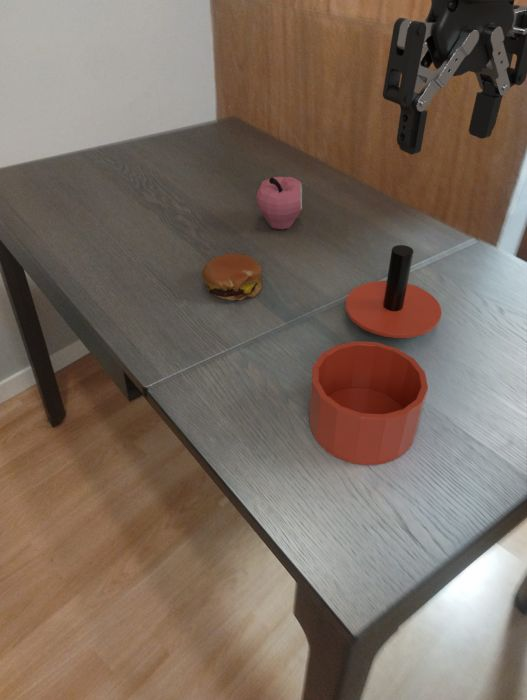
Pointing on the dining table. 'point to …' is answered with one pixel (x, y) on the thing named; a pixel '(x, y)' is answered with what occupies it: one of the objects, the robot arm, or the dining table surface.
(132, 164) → the dining table surface
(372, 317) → the cooker lid
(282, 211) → the apple
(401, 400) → the cup
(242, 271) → the burger
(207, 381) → the dining table surface
